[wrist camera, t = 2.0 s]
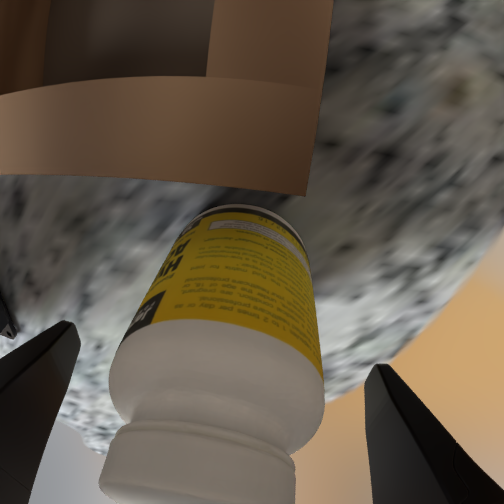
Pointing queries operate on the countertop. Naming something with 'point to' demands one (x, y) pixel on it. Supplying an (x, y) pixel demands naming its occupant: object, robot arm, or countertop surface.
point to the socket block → (163, 89)
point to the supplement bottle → (219, 368)
